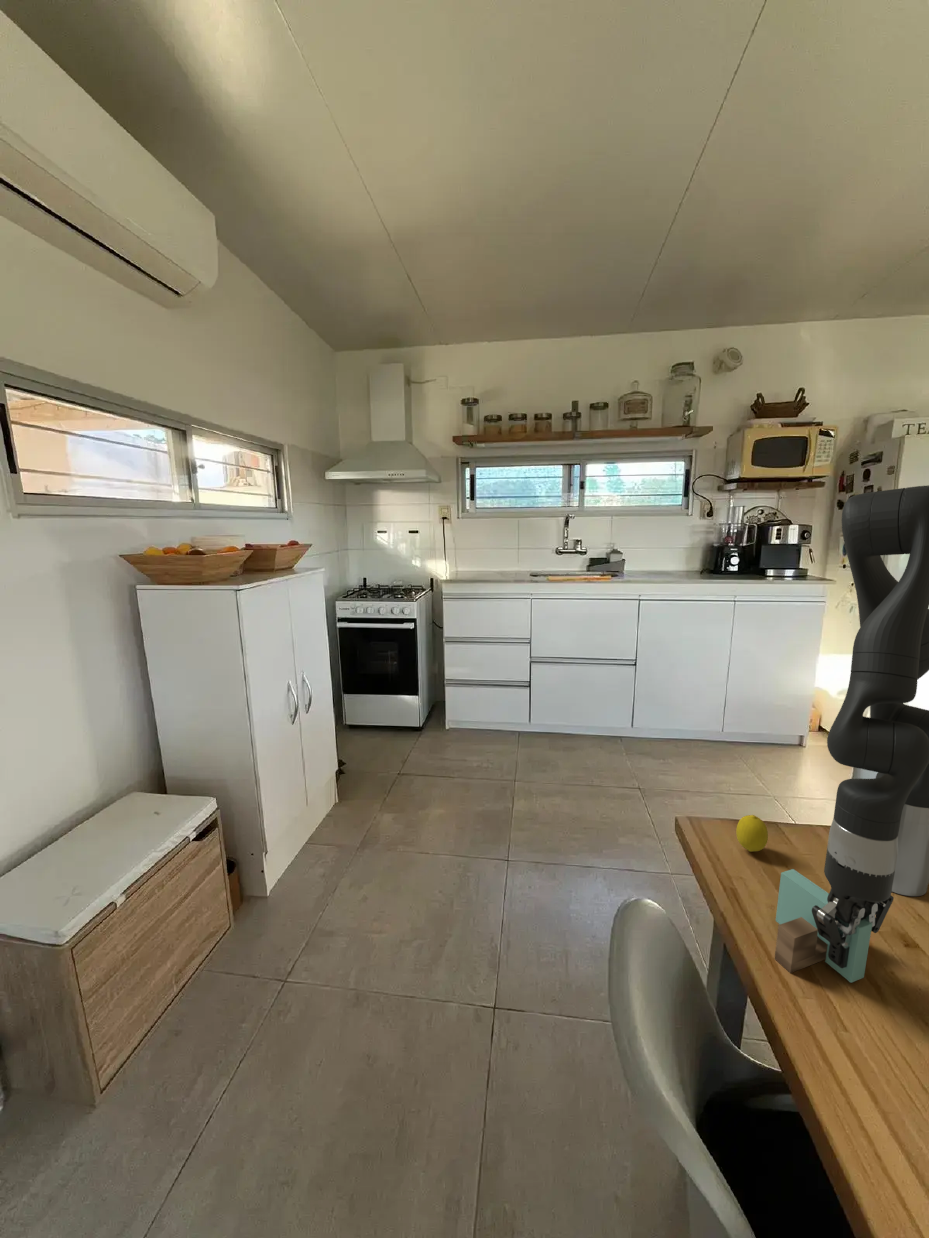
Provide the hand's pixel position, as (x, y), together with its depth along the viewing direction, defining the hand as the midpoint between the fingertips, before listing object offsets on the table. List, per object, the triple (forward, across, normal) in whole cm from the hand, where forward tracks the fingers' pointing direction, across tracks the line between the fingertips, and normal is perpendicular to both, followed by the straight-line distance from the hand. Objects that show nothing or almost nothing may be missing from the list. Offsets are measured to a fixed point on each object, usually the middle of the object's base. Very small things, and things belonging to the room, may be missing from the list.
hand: (844, 959), depth 73 cm
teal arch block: (+2, 0, -4) cm, 4 cm away
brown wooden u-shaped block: (+3, 0, -4) cm, 5 cm away
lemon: (+3, -11, -26) cm, 28 cm away
